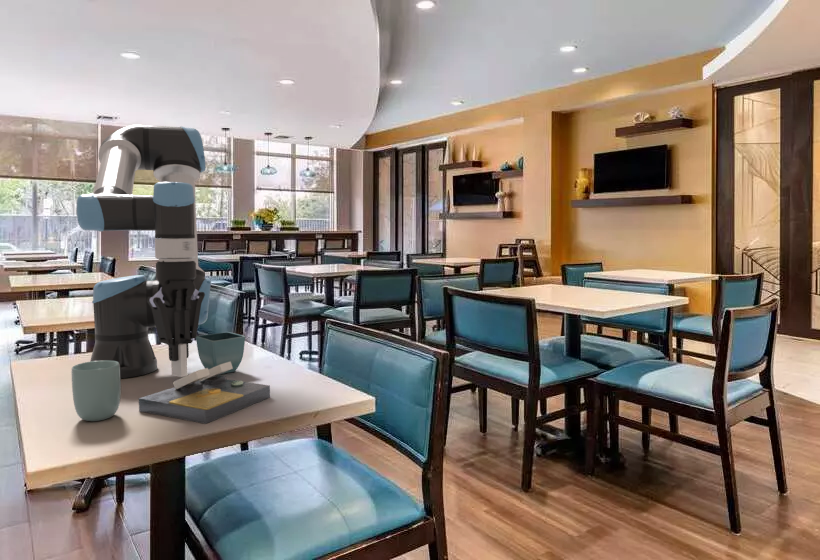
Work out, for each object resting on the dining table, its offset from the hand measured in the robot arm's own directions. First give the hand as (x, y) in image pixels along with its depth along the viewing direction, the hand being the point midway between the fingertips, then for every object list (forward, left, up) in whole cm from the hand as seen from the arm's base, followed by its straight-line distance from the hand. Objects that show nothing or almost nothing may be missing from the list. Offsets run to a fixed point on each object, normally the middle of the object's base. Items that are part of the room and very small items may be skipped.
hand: (179, 375), depth 118 cm
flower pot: (-9, +21, -5) cm, 24 cm away
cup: (-5, -15, -5) cm, 16 cm away
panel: (+7, 0, -5) cm, 9 cm away
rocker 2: (+3, +7, 0) cm, 7 cm away
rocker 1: (+3, 0, 0) cm, 3 cm away
